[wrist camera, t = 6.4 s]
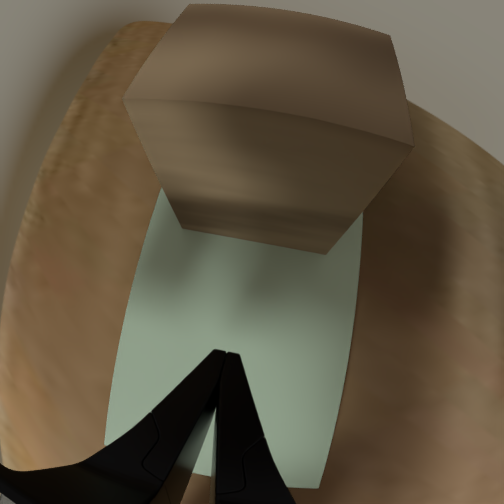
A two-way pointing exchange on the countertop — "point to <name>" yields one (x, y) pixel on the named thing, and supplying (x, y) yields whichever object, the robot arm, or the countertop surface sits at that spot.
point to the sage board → (241, 334)
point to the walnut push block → (270, 122)
